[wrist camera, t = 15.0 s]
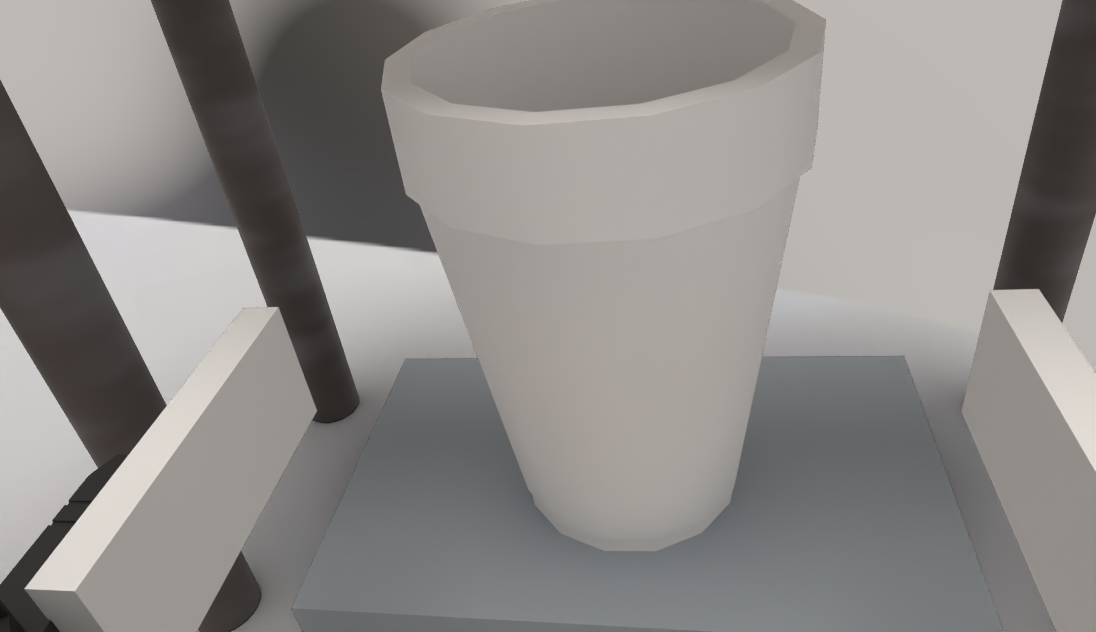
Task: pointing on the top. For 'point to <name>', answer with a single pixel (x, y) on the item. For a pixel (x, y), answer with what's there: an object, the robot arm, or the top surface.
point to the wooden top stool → (290, 272)
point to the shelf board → (677, 570)
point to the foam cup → (614, 234)
